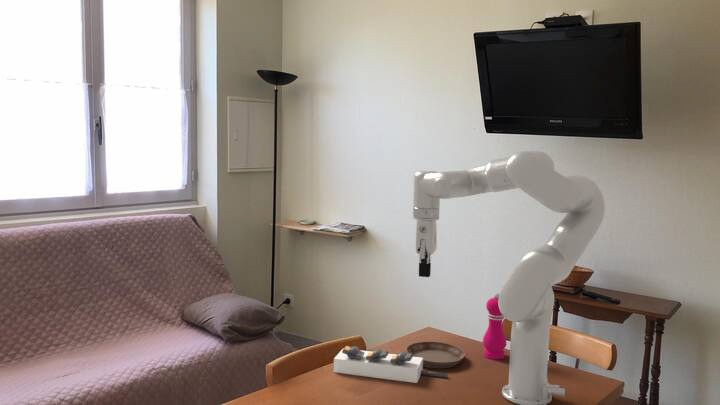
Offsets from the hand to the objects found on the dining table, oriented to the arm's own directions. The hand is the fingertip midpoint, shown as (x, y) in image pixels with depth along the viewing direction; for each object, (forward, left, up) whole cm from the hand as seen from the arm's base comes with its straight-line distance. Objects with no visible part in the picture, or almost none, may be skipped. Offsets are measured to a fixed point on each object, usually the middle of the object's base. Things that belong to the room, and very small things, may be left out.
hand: (424, 276), depth 179 cm
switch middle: (+10, +12, -22) cm, 27 cm away
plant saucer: (-3, -5, -27) cm, 28 cm away
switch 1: (+18, +12, -22) cm, 31 cm away
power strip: (+7, +10, -27) cm, 29 cm away
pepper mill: (-20, -14, -27) cm, 37 cm away
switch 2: (+3, +12, -22) cm, 25 cm away
